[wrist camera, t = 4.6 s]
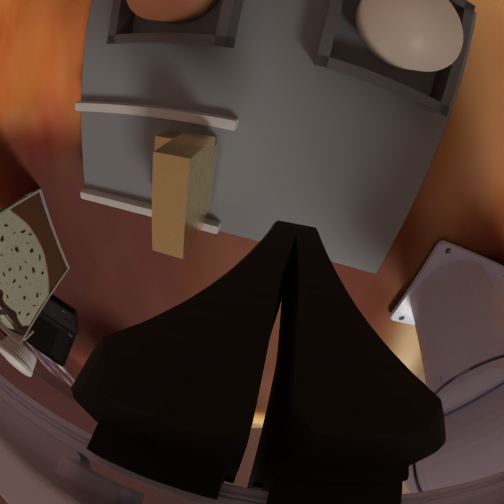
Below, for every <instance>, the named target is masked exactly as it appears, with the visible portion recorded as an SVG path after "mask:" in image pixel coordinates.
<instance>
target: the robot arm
mask: <svg viewBox="0 0 504 504" xmlns="http://www.w3.org/2000/svg"><path fill="white" fill-rule="evenodd" d="M448 248H449V250H447V251H445V250H446V249H448ZM281 300H282V304H281V317H280V329H279V341H278V353H277V361H276V367H275V373H274V377H273V382H272V387H271V392H270V397H269V401H268V406H267V410H266V415H265V419H264V423H263V428H262V432H261V436H260V440H259V444H258V448H257V452H256V456H255V460H254V464H253V468H252V471H251V475H250V479H249V483H248V487H247V488H244V487H239V486H234V485H229V484H224V481H226V482H231V483H234V480H235V477H236V474H237V471H238V469H239V467H240V464H241V461H242V458H243V455H244V452H245V449H246V447H247V443H248V439H249V435H250V430H251V426H252V422H253V418H254V413H255V409H256V404H257V399H258V394H259V389H260V384H261V379H262V374H263V369H264V364H265V359H266V354H267V349H268V344H269V339H270V336H271V332H272V329H273V326H274V323H275V320H276V316H277V313H278V310H279V306H280V303H281ZM400 316H401V317H400ZM390 317H391V319H392V320H394V321H398V322H402V323H407V324H411V325H415V327H416V332H417V336H418V341H419V346H420V351H421V357H422V362H423V368H424V374H425V381H426V385H425V384H424V383H423V382H422V381H421V380H419V379H418V378H417V377H416V376H415V375H414V374H413V373H412V372H411V371H410V370H409V369H408V368H407V367H406V366H405V365H404V364H403V363H402V362H401V361H400V360H399V358H398V357H397V356H396V355H395V354H394V353H393V352H392V351H391V350H390V349H389V348H388V346H387V345H386V344H385V343H384V342H383V341H382V339H381V338H380V337H379V336H378V334H377V333H376V332H375V331H374V329H373V328H372V327H371V326H370V324H369V323H368V322H367V321H366V319H365V318H364V317H363V315H362V314H361V312H360V311H359V309H358V308H357V306H356V305H355V303H354V302H353V300H352V299H351V297H350V295H349V294H348V292H347V290H346V289H345V287H344V285H343V283H342V282H341V280H340V278H339V276H338V274H337V272H336V270H335V268H334V266H333V264H332V262H331V260H330V258H329V256H328V254H327V252H326V250H325V247H324V245H323V243H322V240H321V238H320V235H319V232H318V230H317V229H316V227H311V226H305V225H300V224H295V223H290V222H285V221H279V220H278V221H276V222H275V223H274V224H273V226H272V227H271V229H270V230H269V231H268V233H267V234H266V235H265V236H264V238H263V239H262V240H261V241H260V242H259V243H258V244H257V245H256V246H255V247H254V248H253V249H252V251H251V252H250V253H249V254H248V255H246V256H245V257H244V258H243V259H242V260H241V261H240V262H239V263H238V264H237V265H235V266H234V267H233V268H232V269H231V270H230V271H228V272H227V273H226V274H225V275H223V276H222V277H221V278H219V279H218V280H217V281H215V282H214V283H213V284H211V285H210V286H208V287H207V288H205V289H204V290H202V291H201V292H199V293H197V294H196V295H194V296H193V297H191V298H189V299H188V300H186V301H184V302H183V303H181V304H179V305H177V306H175V307H173V308H171V309H169V310H167V311H165V312H163V313H161V314H159V315H157V316H155V317H153V318H151V319H149V320H147V321H144V322H142V323H140V324H137V325H134V326H132V327H129V328H126V329H124V330H121V331H118V332H116V333H113V334H110V335H107V336H104V337H103V338H102V340H101V341H100V342H99V344H98V345H97V346H96V347H95V349H94V350H93V351H92V353H91V354H90V356H89V358H88V359H87V361H86V363H85V364H84V366H83V368H82V370H81V371H80V373H79V375H78V377H77V378H76V380H75V382H74V384H73V386H72V387H71V389H72V393H73V396H74V398H75V399H76V401H77V402H78V403H79V404H80V405H81V406H82V407H83V408H84V409H85V411H87V412H88V413H89V415H91V416H92V417H93V418H94V419H95V420H96V421H97V422H98V425H97V427H96V429H95V431H94V433H93V435H91V434H89V433H87V432H85V431H83V430H81V429H80V428H78V427H76V426H74V425H72V424H71V423H69V422H67V421H65V420H64V419H62V418H60V417H59V416H57V415H56V414H54V413H52V412H51V411H49V410H48V409H46V408H45V407H43V406H41V405H40V404H39V403H37V402H36V401H34V400H33V399H31V398H30V397H28V396H27V395H25V394H24V393H23V392H21V391H20V390H19V389H17V388H16V387H15V386H13V385H12V384H11V383H10V382H8V381H7V380H6V379H5V378H3V377H2V376H1V375H0V494H1V496H2V497H3V498H4V499H5V500H6V502H8V504H142V501H143V499H144V496H145V495H144V493H143V492H140V491H138V490H136V489H133V488H131V487H129V486H126V485H124V484H122V483H120V482H118V481H116V480H113V479H111V478H109V477H107V476H105V475H103V474H101V473H99V472H96V471H94V470H93V469H92V468H91V466H90V462H89V460H88V458H89V459H91V460H93V461H94V462H96V463H98V464H100V465H102V466H104V467H106V468H108V469H110V470H113V471H115V472H117V473H119V474H121V475H124V476H126V477H128V478H130V479H133V480H135V481H137V482H140V483H143V484H145V485H148V486H150V487H153V488H155V489H158V490H161V491H164V492H167V493H170V494H173V495H176V496H179V497H182V498H185V499H189V500H192V501H196V502H199V503H203V504H504V266H503V265H501V264H499V263H497V262H495V261H492V260H490V259H488V258H486V257H483V256H481V255H479V254H476V253H474V252H472V251H469V250H467V249H464V248H462V247H460V246H457V245H455V244H452V243H450V242H447V241H444V240H442V241H439V242H438V243H437V244H436V246H435V247H434V249H433V251H432V252H431V254H430V255H429V257H428V259H427V260H426V262H425V264H424V265H423V267H422V268H421V270H420V271H419V273H418V274H417V276H416V277H415V279H414V280H413V282H412V283H411V285H410V286H409V288H408V289H407V291H406V292H405V294H404V295H403V297H402V298H401V299H400V301H399V302H398V304H397V305H396V306H395V308H394V309H393V310H392V312H391V314H390ZM86 457H87V458H86ZM402 481H404V482H405V485H406V487H407V489H408V491H409V494H402Z"/></svg>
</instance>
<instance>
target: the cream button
mask: <svg viewBox="0 0 504 504" xmlns="http://www.w3.org/2000/svg"><path fill="white" fill-rule="evenodd" d="M356 26H357V30H358V33H359V35H360V37H361V39H362V41H363V42H364V44H365V45H366V47H367V48H368V49H369V50H370V51H371V52H372V53H373V54H374V55H375V56H376V57H378V58H379V59H380V60H382V61H383V62H385V63H387V64H389V65H391V66H394V67H397V68H401V69H407V70H416V71H424V72H432V71H438V70H442V69H444V68H446V67H448V66H449V65H451V64H452V63H453V62H454V61H455V60H456V59H457V57H458V56H459V54H460V52H461V49H462V45H463V28H462V24H461V21H460V18H459V16H458V14H457V12H456V10H455V8H454V7H453V5H452V4H451V3H450V1H449V0H360V2H359V4H358V6H357V9H356Z"/></svg>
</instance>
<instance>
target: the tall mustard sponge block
mask: <svg viewBox="0 0 504 504" xmlns="http://www.w3.org/2000/svg"><path fill="white" fill-rule="evenodd" d="M215 139H216V137H213V136H207V135H202V134H197V133H191V132H185V131H184V132H183V133H181V134H180V135H178V134H172V133H165V132H161V133H159V134H158V135H156V136H155V146H154V152H153V171H152V246H153V250H154V251H157V252H161V253H164V254H167V255H171V256H174V257H178V258H181V259H183V258H184V256H185V255H186V253H187V251H188V250H189V248H190V246H191V245H192V243H193V241H194V240H195V238H196V236H197V235H198V233H199V231H200V230H201V228H202V227H203V225H204V222H205V216H206V214H207V212H208V211H209V209H210V203H211V195H212V188H213V181H214V173H215V167H216V160H217V153H218V147H219V142H215Z"/></svg>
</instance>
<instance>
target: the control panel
mask: <svg viewBox="0 0 504 504" xmlns="http://www.w3.org/2000/svg"><path fill="white" fill-rule="evenodd" d="M449 1H450V3H451V4H452V5H453V7H454V8H455V10H456V12H457V14H458V16H459V18H460V21H461V24H462V28H463V45H462V49H461V52H460V54H459V56H458V57H457V59H456V60H455V61H454V62H453V63H452V64H451V65H449V66H448V67H446V68H444V69H442V70H438V71H432V72H424V71H416V70H407V69H401V68H397V67H394V66H391V65H389V64H387V63H385V62H383V61H382V60H380V59H379V58H378V57H376V56H375V55H374V54H373V53H372V52H371V51H370V50H369V49H368V48H367V47H366V45H365V44H364V42H363V41H362V39H361V37H360V35H359V33H358V30H357V26H356V9H357V6H358V4H359V2H360V0H217V2H216V3H215V5H214V6H213V7H212V8H211V9H210V10H209V11H208V12H206V13H205V14H204V15H202V16H201V17H199V18H197V19H194V20H192V21H189V22H185V23H168V22H162V21H156V20H149V19H145V18H142V17H140V16H138V15H136V14H135V13H134V12H133V11H132V10H131V9H130V7H129V6H128V4H127V1H126V0H91V5H90V11H89V17H88V24H87V31H86V39H85V48H84V59H83V73H82V97H81V101H80V102H77V103H75V111H81V127H82V152H83V167H84V179H85V189H84V190H82V191H81V192H80V194H81V199H85V200H89V201H93V202H97V203H101V204H105V205H108V206H112V207H116V208H120V209H124V210H128V211H131V212H135V213H139V214H143V215H147V216H150V217H152V171H153V152H154V146H155V136H156V135H158V134H159V133H161V132H165V133H172V134H178V135H180V134H181V133H183V132H184V131H185V132H191V133H197V134H202V135H207V136H213V137H216V139H215V142H219V147H218V153H217V160H216V167H215V173H214V181H213V188H212V195H211V203H210V209H209V211H208V212H207V214H206V216H205V222H204V225H203V227H202V228H201V230H203V231H207V232H210V233H214V234H217V233H218V232H219V231H222V232H226V233H230V234H233V235H237V236H241V237H244V238H248V239H252V240H256V241H259V242H260V241H261V240H262V239H263V238H264V236H265V235H266V234H267V233H268V231H269V230H270V229H271V227H272V226H273V224H274V223H275V222H276V221H278V220H279V221H285V222H290V223H295V224H300V225H305V226H311V227H316V229H317V230H318V232H319V235H320V238H321V240H322V243H323V245H324V247H325V250H326V252H327V254H328V256H329V258H330V260H331V261H332V262H335V263H339V264H342V265H346V266H349V267H353V268H356V269H360V270H363V271H367V272H371V273H374V274H376V273H377V271H378V269H379V268H380V266H381V264H382V262H383V261H384V259H385V257H386V255H387V253H388V252H389V250H390V248H391V246H392V244H393V242H394V240H395V239H396V237H397V235H398V233H399V231H400V229H401V227H402V225H403V223H404V221H405V219H406V217H407V215H408V213H409V211H410V209H411V207H412V205H413V203H414V201H415V199H416V197H417V194H418V192H419V190H420V188H421V186H422V184H423V181H424V179H425V177H426V174H427V172H428V170H429V168H430V165H431V163H432V160H433V158H434V156H435V153H436V151H437V148H438V146H439V143H440V140H441V138H442V135H443V133H444V130H445V127H446V124H447V122H448V119H449V116H450V113H451V110H452V107H453V104H454V101H455V98H456V95H457V92H458V88H459V85H460V82H461V78H462V75H463V71H464V67H465V64H466V60H467V56H468V52H469V47H470V43H471V39H472V34H473V29H474V24H475V18H476V12H475V11H474V9H475V6H474V5H473V4H471V3H469V2H468V1H466V0H449Z"/></svg>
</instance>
